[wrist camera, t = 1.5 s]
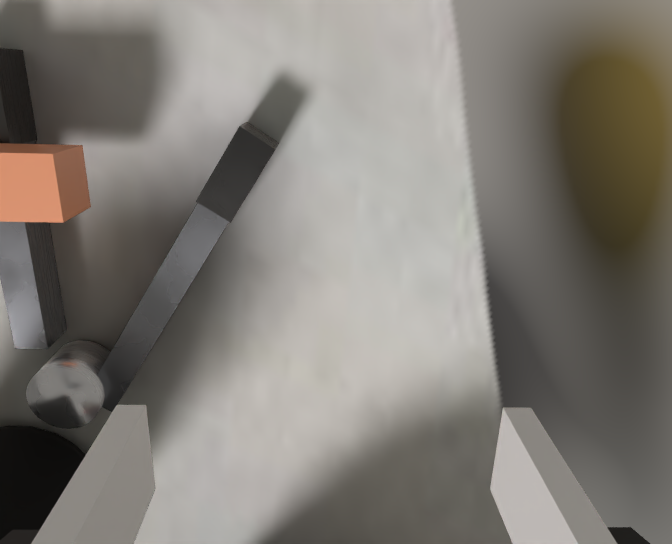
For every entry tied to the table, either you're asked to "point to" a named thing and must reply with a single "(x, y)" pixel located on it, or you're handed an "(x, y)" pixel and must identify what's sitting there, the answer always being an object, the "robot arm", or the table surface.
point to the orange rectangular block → (42, 182)
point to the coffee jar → (32, 475)
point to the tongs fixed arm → (26, 230)
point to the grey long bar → (149, 298)
